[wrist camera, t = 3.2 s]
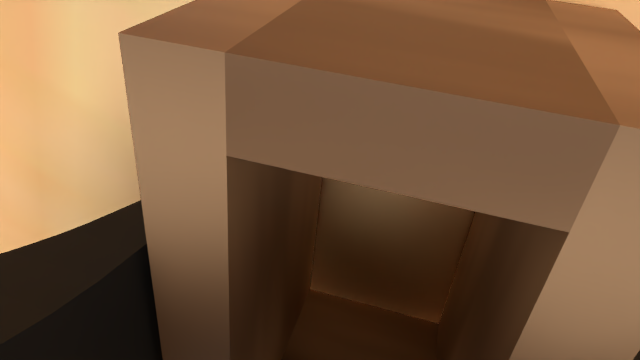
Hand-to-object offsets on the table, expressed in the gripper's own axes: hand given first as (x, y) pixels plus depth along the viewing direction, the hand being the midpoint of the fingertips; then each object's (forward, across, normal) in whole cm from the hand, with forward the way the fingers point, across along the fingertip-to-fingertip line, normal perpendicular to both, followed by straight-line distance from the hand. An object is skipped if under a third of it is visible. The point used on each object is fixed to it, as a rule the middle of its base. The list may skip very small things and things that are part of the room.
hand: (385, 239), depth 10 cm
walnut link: (+2, 0, 0) cm, 2 cm away
